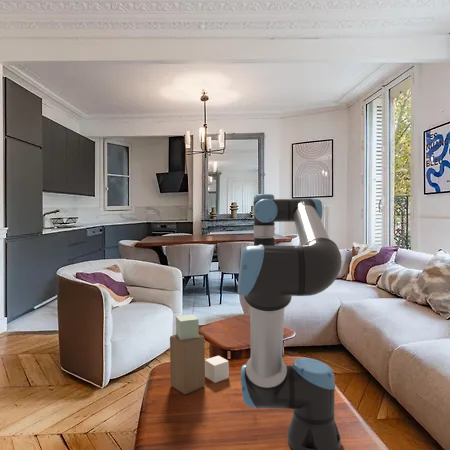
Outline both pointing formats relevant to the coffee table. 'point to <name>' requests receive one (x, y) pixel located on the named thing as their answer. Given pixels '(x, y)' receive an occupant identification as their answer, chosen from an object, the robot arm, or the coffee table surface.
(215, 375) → the cream cube
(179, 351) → the wooden block
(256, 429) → the coffee table surface
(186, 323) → the sage cube
